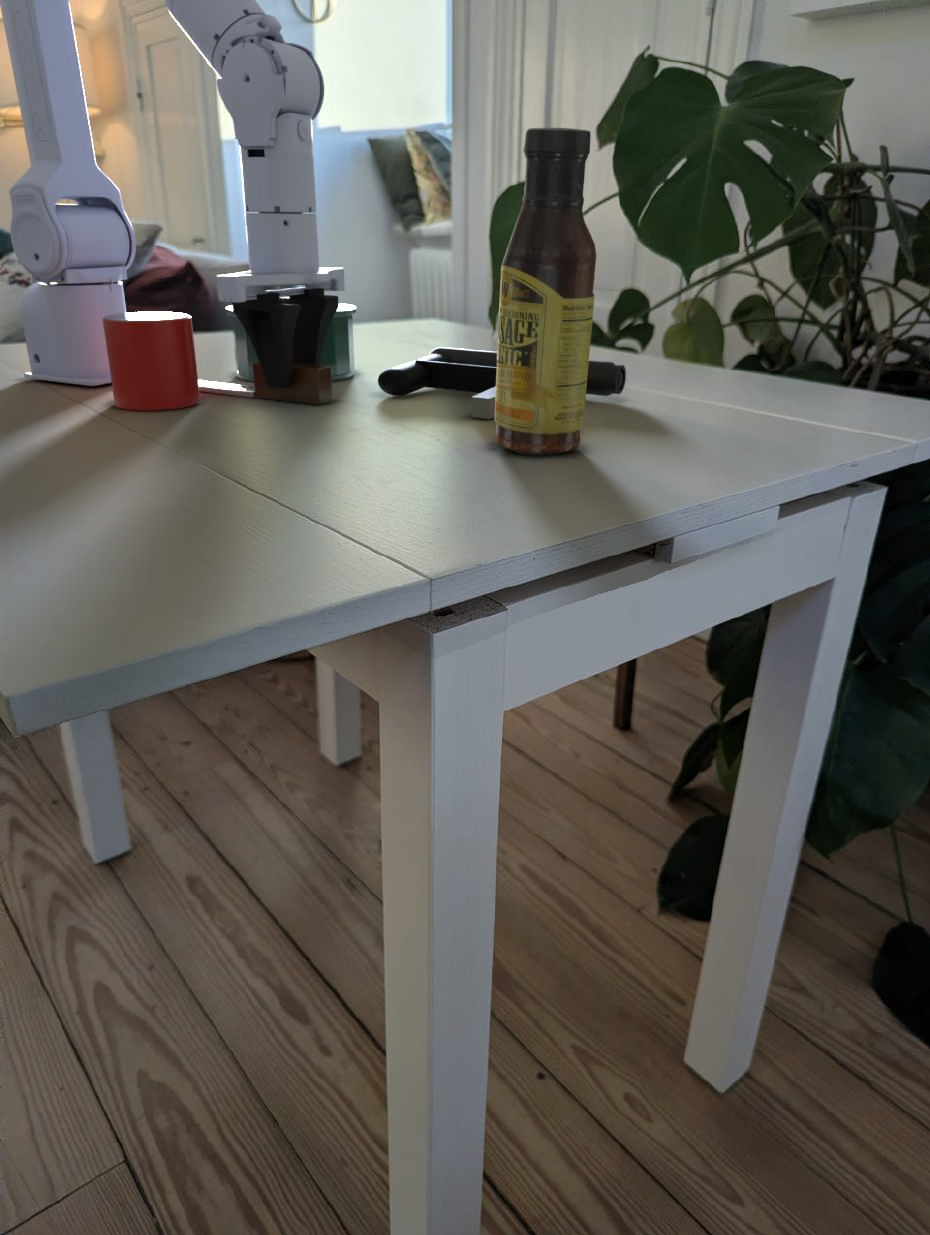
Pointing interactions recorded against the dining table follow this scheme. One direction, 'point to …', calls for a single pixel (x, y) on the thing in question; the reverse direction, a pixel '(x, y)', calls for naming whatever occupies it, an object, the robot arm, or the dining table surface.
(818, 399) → the dining table surface
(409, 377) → the door handle
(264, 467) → the dining table surface
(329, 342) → the pot
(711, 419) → the dining table surface
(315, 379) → the knife
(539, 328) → the sauce bottle
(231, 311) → the pot lid
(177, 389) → the can
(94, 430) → the dining table surface
